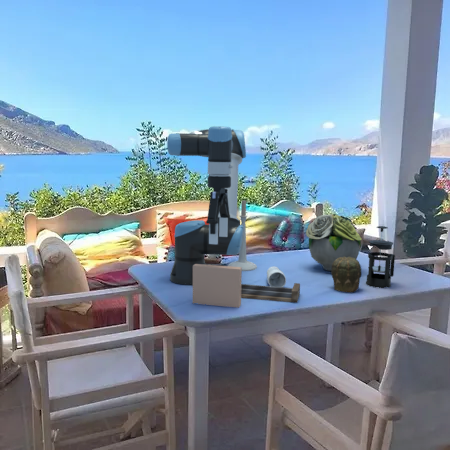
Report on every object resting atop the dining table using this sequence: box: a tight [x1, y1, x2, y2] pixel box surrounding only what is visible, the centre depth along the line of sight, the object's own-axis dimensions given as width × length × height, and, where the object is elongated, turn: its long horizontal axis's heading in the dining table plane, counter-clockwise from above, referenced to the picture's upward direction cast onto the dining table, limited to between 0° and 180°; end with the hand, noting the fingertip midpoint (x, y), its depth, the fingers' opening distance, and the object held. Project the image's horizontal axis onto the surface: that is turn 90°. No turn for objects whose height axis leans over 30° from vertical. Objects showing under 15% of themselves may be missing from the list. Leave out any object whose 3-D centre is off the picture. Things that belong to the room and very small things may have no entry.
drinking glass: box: [266, 265, 287, 288], centre depth 185 cm, size 7×7×15 cm
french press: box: [365, 225, 396, 289], centre depth 186 cm, size 12×9×23 cm
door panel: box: [192, 263, 243, 309], centre depth 160 cm, size 16×3×13 cm, turn 76°
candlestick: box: [227, 200, 258, 272], centre depth 209 cm, size 13×13×30 cm
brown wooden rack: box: [241, 282, 301, 304], centre depth 171 cm, size 28×10×4 cm, turn 76°
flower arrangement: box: [305, 213, 363, 272], centre depth 208 cm, size 25×25×24 cm
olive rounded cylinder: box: [330, 257, 362, 293], centre depth 180 cm, size 11×11×12 cm
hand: (218, 240), depth 158 cm, fingers open, 13 cm apart
